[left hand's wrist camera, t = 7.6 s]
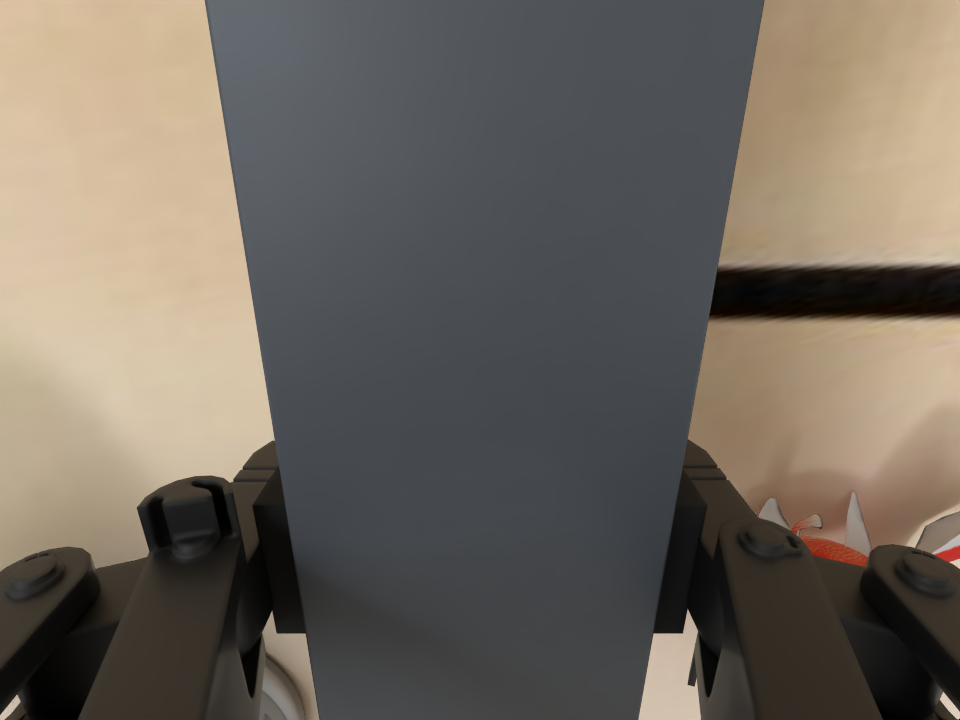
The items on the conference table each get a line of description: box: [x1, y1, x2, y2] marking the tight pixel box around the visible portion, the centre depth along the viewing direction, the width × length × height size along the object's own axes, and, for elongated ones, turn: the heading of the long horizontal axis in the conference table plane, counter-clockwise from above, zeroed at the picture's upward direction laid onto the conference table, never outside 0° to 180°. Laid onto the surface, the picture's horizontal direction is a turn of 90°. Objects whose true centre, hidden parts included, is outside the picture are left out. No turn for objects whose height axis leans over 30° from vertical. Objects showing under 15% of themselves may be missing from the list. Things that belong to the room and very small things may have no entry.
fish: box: [759, 492, 960, 567], centre depth 24 cm, size 11×16×10 cm
